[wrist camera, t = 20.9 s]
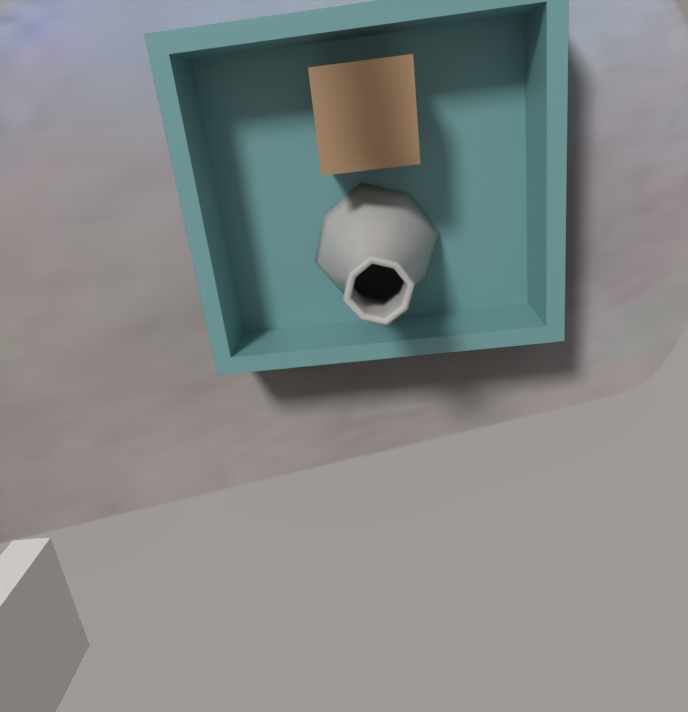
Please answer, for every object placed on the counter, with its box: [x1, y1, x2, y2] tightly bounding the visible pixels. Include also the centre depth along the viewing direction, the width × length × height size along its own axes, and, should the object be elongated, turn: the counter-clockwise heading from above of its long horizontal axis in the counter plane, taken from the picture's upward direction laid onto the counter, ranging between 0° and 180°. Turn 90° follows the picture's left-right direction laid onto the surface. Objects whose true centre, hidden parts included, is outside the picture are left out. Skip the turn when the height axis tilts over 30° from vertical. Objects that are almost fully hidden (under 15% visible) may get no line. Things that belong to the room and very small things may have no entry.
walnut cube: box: [308, 54, 420, 176], centre depth 33 cm, size 5×5×5 cm
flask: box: [315, 183, 439, 326], centre depth 33 cm, size 7×7×10 cm
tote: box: [144, 0, 569, 375], centre depth 35 cm, size 20×18×5 cm
